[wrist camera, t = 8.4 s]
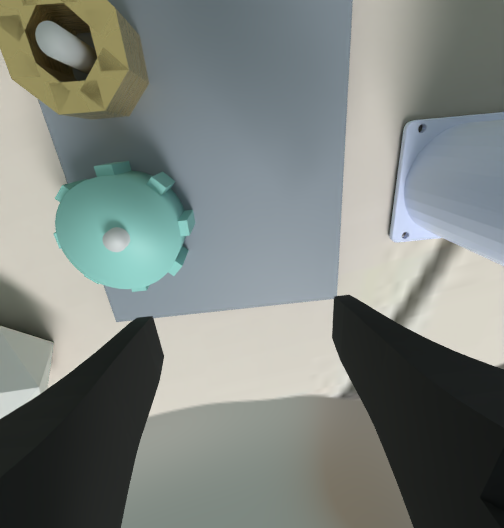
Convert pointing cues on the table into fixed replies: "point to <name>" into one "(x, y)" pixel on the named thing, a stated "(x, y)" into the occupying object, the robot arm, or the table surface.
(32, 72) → the yellow faceted ring
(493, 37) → the table surface
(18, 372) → the die
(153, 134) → the gear board
